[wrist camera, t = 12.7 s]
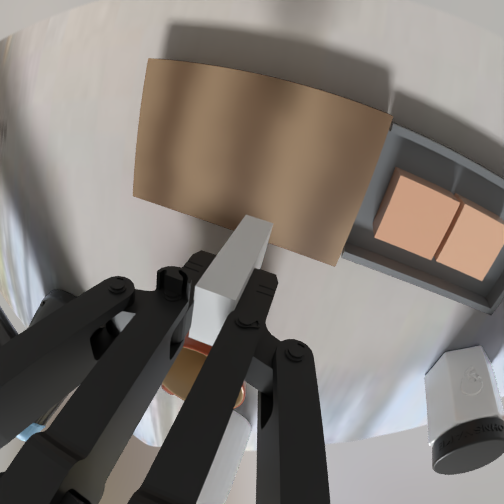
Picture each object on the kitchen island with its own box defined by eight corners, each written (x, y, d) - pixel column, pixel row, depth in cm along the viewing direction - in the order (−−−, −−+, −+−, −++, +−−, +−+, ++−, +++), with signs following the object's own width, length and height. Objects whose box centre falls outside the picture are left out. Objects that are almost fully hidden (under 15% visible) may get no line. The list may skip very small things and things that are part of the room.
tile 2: (372, 223, 24) (374, 237, 22) (395, 166, 21) (400, 175, 19) (425, 245, 23) (431, 260, 21) (450, 191, 20) (460, 202, 18)
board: (151, 185, 28) (132, 196, 26) (168, 59, 22) (148, 58, 19) (337, 248, 26) (335, 266, 24) (387, 113, 20) (393, 116, 17)
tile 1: (482, 281, 20) (473, 265, 22) (511, 229, 18) (499, 216, 20) (436, 261, 21) (429, 245, 23) (465, 204, 18) (455, 192, 20)
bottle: (182, 417, 51) (122, 527, 30) (192, 390, 44) (117, 526, 23) (241, 443, 50) (193, 558, 29) (263, 421, 43) (207, 564, 22)
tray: (342, 244, 26) (341, 257, 24) (389, 120, 20) (393, 123, 18) (485, 301, 24) (491, 315, 22) (540, 203, 18) (551, 213, 16)
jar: (497, 338, 25) (523, 429, 15) (485, 383, 28) (499, 464, 18) (425, 352, 29) (434, 450, 19) (421, 395, 32) (423, 480, 22)
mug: (228, 256, 30) (178, 327, 21) (292, 315, 31) (266, 397, 23) (169, 311, 36) (124, 373, 28) (224, 357, 38) (191, 423, 29)
